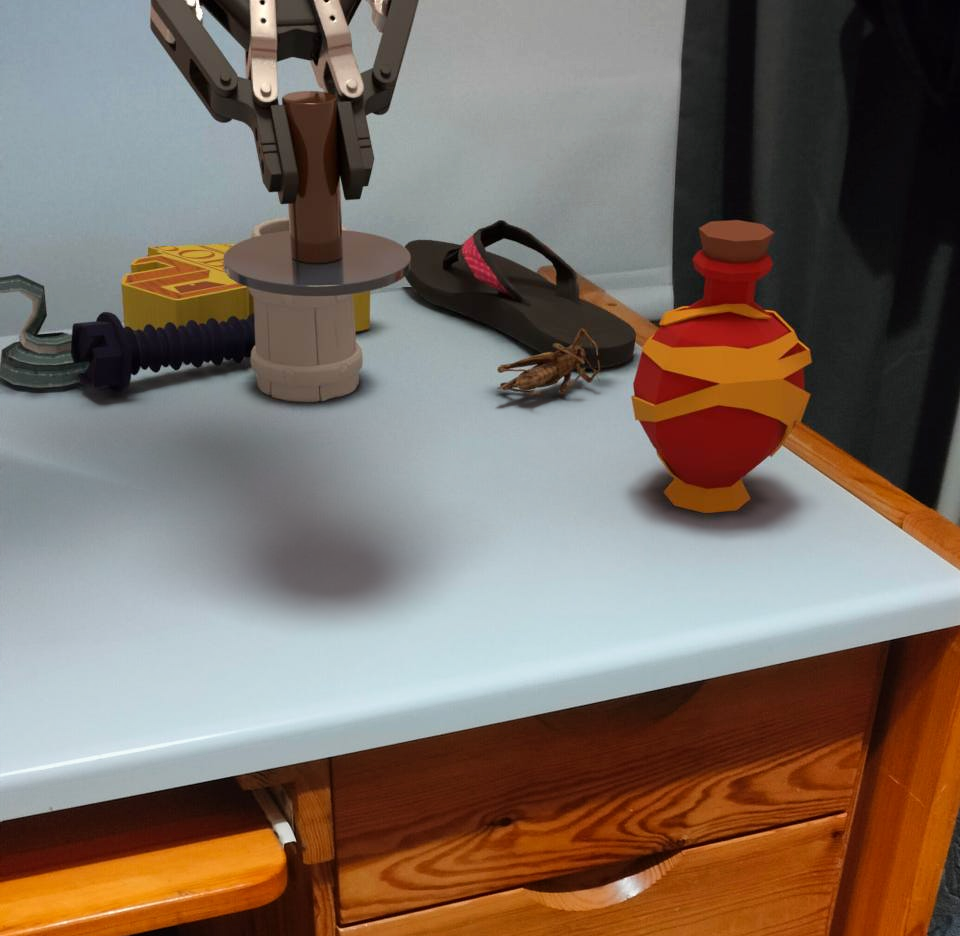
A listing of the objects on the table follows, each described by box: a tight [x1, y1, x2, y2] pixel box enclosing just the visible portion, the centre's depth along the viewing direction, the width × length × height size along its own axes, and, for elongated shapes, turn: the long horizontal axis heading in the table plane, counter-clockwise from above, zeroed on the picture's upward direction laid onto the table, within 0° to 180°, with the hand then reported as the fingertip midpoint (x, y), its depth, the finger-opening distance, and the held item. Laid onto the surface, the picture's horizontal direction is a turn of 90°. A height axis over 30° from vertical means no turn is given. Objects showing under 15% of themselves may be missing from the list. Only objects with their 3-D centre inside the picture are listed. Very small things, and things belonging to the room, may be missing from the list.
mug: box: [249, 217, 364, 403], centre depth 111 cm, size 8×12×12 cm, turn 172°
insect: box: [496, 317, 601, 396], centre depth 112 cm, size 4×8×5 cm
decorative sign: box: [120, 244, 371, 332], centre depth 122 cm, size 20×3×15 cm
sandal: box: [404, 219, 637, 370], centre depth 122 cm, size 10×25×6 cm, turn 34°
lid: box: [223, 90, 411, 296], centre depth 80 cm, size 9×9×8 cm
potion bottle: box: [630, 219, 813, 514], centre depth 95 cm, size 10×10×15 cm
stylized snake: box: [0, 274, 90, 389], centre depth 113 cm, size 7×20×6 cm, turn 121°
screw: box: [71, 311, 256, 394], centre depth 114 cm, size 18×5×5 cm
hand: (323, 190), depth 78 cm, fingers closed on lid, 2 cm apart
